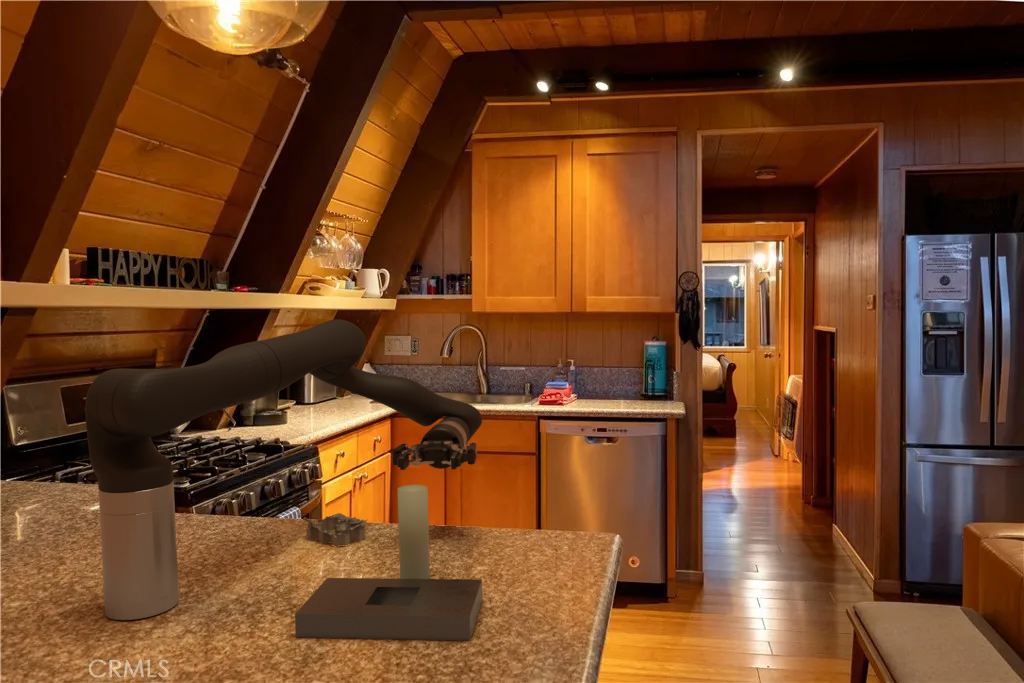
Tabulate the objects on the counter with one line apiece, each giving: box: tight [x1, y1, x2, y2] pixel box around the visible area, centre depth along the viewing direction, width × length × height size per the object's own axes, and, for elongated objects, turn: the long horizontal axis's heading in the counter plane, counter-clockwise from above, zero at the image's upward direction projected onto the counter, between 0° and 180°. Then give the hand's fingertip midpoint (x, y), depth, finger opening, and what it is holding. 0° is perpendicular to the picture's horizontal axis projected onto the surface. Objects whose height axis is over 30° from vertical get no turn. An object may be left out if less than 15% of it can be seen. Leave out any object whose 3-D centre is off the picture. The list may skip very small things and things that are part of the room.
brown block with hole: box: [294, 577, 484, 642], centre depth 96 cm, size 22×12×3 cm, turn 85°
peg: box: [397, 484, 431, 579], centre depth 109 cm, size 4×4×14 cm
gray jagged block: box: [302, 512, 368, 546], centre depth 130 cm, size 11×8×4 cm
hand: (427, 463), depth 120 cm, fingers open, 8 cm apart
